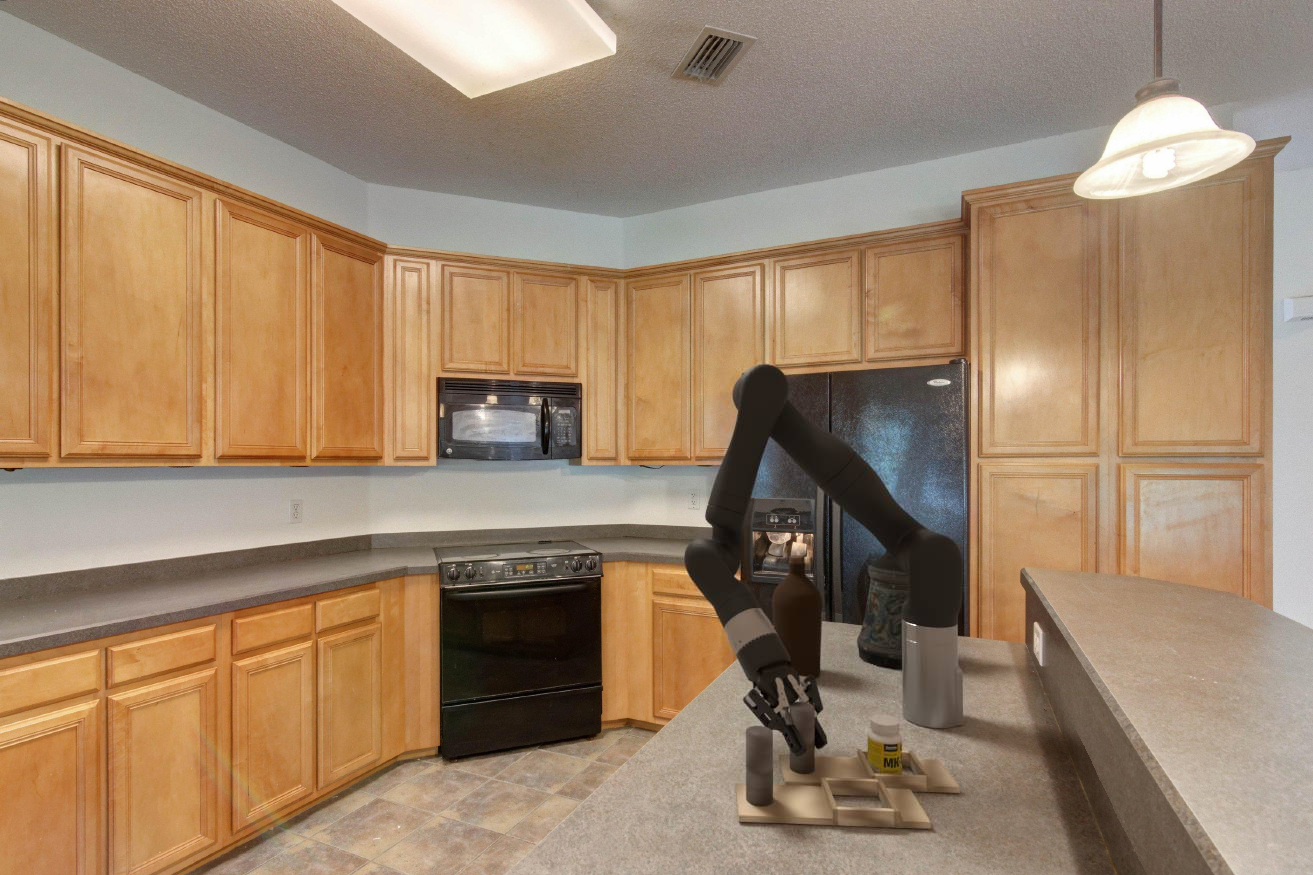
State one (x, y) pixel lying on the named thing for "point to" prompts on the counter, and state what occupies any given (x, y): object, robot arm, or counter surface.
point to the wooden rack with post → (855, 763)
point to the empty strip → (817, 795)
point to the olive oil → (799, 618)
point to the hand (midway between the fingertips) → (812, 749)
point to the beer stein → (884, 614)
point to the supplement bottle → (884, 745)
